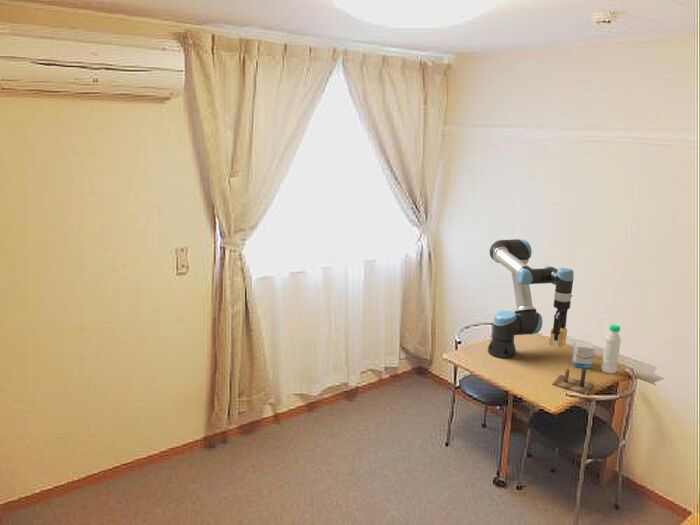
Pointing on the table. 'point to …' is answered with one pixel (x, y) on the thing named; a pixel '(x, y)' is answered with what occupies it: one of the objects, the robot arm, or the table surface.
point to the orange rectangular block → (562, 337)
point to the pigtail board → (573, 382)
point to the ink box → (582, 354)
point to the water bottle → (611, 350)
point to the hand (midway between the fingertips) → (557, 343)
